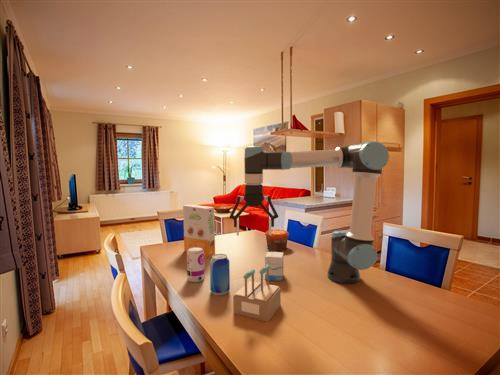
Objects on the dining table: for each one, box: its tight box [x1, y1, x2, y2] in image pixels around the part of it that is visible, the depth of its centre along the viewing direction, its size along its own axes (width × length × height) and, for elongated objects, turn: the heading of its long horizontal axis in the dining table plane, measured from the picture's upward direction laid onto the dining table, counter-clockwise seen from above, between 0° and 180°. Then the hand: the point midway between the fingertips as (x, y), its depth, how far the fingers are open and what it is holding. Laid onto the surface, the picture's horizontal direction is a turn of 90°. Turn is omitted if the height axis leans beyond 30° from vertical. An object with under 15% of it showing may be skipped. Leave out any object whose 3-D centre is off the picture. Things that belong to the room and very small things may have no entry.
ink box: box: [264, 251, 285, 282], centre depth 139 cm, size 8×8×12 cm
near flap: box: [254, 265, 280, 302], centre depth 106 cm, size 6×14×8 cm, turn 155°
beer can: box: [209, 253, 231, 296], centre depth 123 cm, size 8×8×16 cm
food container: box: [264, 229, 290, 251], centre depth 189 cm, size 16×16×11 cm
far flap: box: [234, 268, 261, 298], centre depth 109 cm, size 6×14×8 cm, turn 155°
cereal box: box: [182, 204, 216, 259], centre depth 178 cm, size 22×6×30 cm, turn 50°
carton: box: [232, 284, 282, 323], centre depth 108 cm, size 14×13×7 cm
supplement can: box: [186, 247, 205, 283], centre depth 137 cm, size 8×8×15 cm
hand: (254, 234), depth 118 cm, fingers open, 13 cm apart
